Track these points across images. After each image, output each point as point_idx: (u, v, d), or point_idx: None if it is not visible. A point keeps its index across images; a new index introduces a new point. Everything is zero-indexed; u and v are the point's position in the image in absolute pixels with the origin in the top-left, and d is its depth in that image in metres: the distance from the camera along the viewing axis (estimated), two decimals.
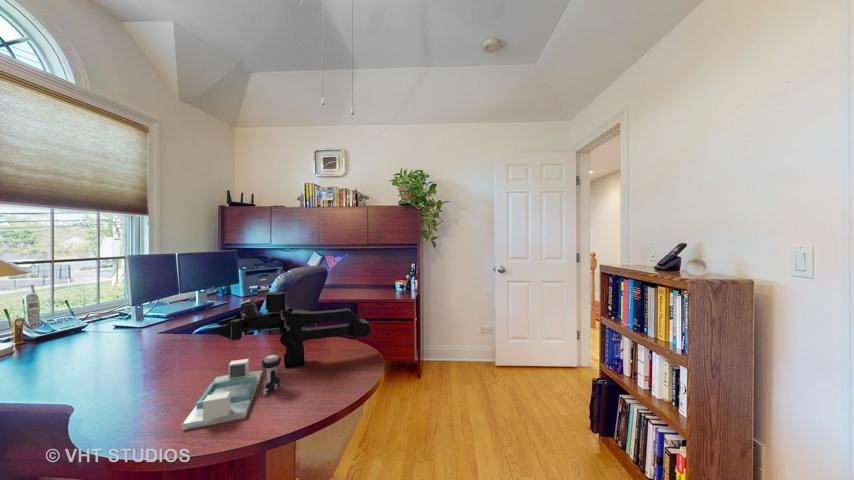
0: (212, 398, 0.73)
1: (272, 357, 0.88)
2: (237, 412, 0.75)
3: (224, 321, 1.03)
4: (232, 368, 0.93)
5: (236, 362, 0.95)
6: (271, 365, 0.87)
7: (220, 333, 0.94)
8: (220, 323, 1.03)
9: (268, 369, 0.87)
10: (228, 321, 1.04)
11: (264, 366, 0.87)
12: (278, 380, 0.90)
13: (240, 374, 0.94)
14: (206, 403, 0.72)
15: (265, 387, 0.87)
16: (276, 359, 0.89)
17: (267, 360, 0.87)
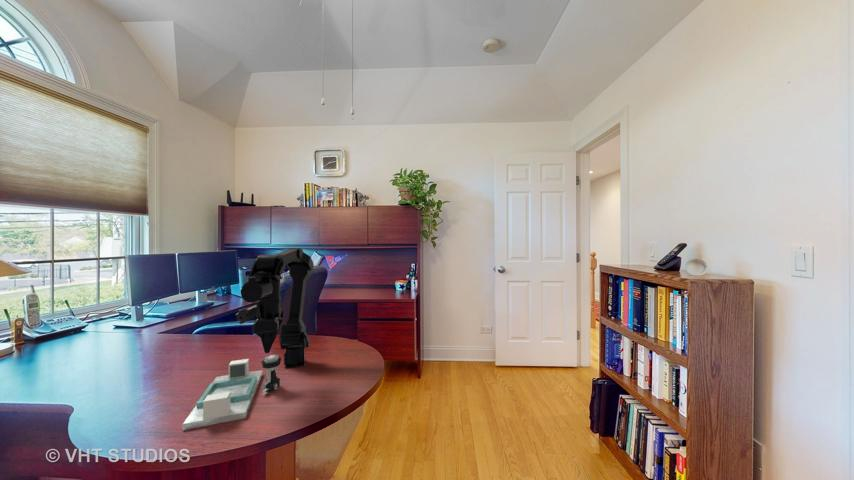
0: (212, 398, 0.73)
1: (272, 357, 0.88)
2: (237, 412, 0.75)
3: None
4: (232, 368, 0.93)
5: (236, 362, 0.95)
6: (271, 365, 0.87)
7: (270, 342, 0.83)
8: None
9: (268, 369, 0.87)
10: None
11: (264, 366, 0.87)
12: (278, 380, 0.90)
13: (240, 374, 0.94)
14: (206, 403, 0.72)
15: (265, 387, 0.87)
16: (276, 359, 0.89)
17: (267, 360, 0.87)
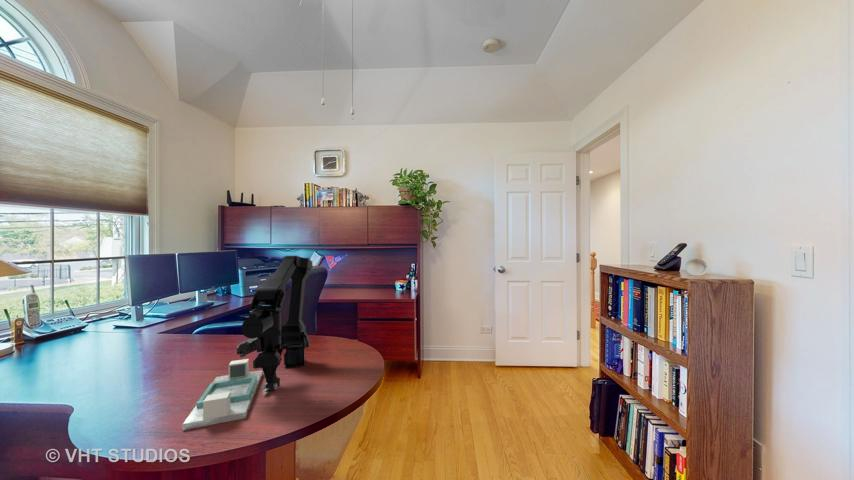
0: (212, 398, 0.73)
1: None
2: (237, 412, 0.75)
3: None
4: (232, 368, 0.93)
5: (236, 362, 0.95)
6: None
7: (272, 372, 0.85)
8: None
9: None
10: None
11: None
12: (278, 380, 0.90)
13: (240, 374, 0.94)
14: (206, 403, 0.72)
15: (265, 387, 0.87)
16: None
17: None
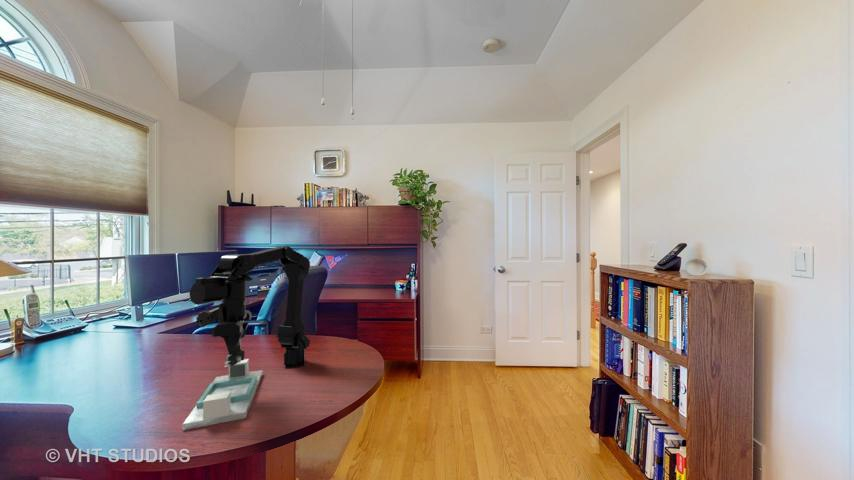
0: (212, 398, 0.73)
1: None
2: (237, 412, 0.75)
3: None
4: (232, 368, 0.93)
5: None
6: None
7: (234, 343, 0.82)
8: None
9: None
10: None
11: None
12: (242, 353, 0.87)
13: (240, 374, 0.94)
14: (206, 403, 0.72)
15: (227, 359, 0.83)
16: None
17: None
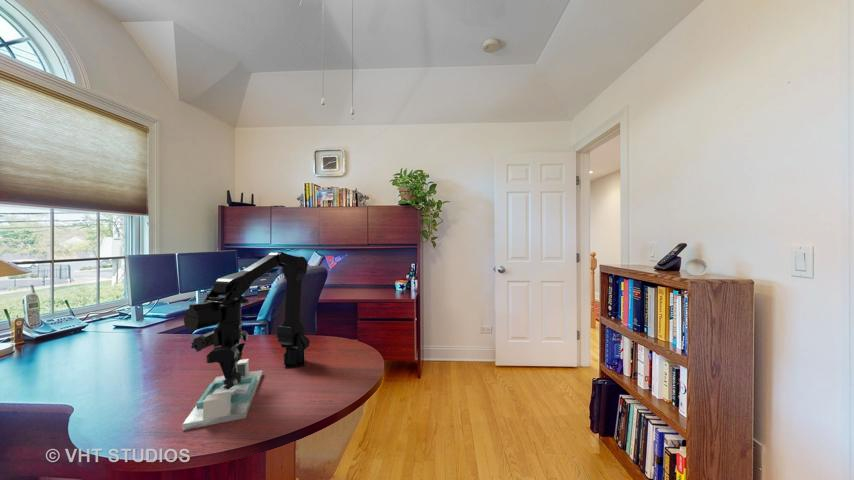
0: (212, 398, 0.73)
1: None
2: (237, 412, 0.75)
3: None
4: None
5: None
6: None
7: (230, 367, 0.82)
8: None
9: None
10: None
11: None
12: (239, 375, 0.86)
13: None
14: (206, 403, 0.72)
15: (223, 383, 0.83)
16: None
17: None
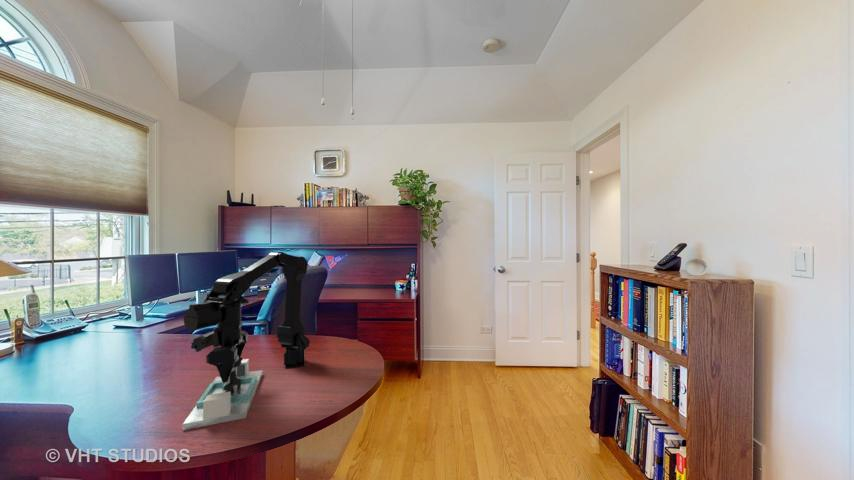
0: (212, 398, 0.73)
1: None
2: (237, 412, 0.75)
3: None
4: None
5: None
6: None
7: (227, 371, 0.79)
8: None
9: None
10: None
11: None
12: (239, 381, 0.87)
13: (240, 374, 0.94)
14: (206, 403, 0.72)
15: (223, 388, 0.83)
16: (236, 359, 0.85)
17: None
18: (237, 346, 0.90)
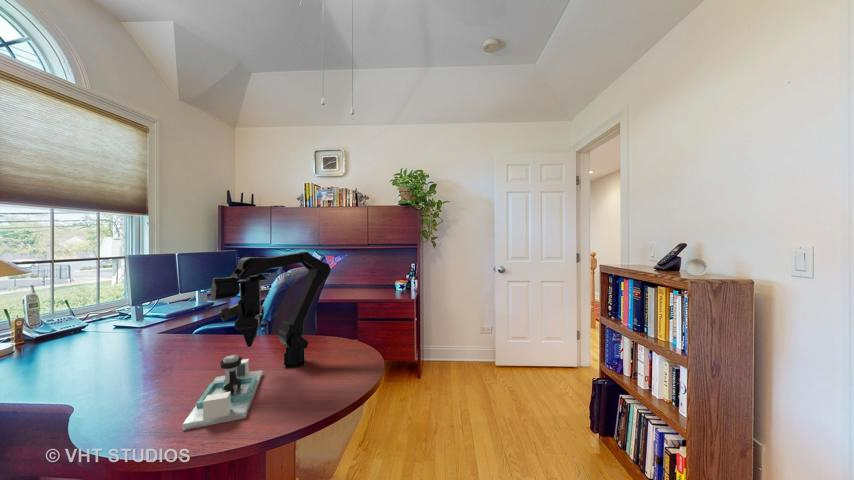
0: (212, 398, 0.73)
1: (231, 357, 0.85)
2: (237, 412, 0.75)
3: None
4: None
5: None
6: (230, 366, 0.83)
7: (252, 336, 0.92)
8: None
9: (227, 370, 0.83)
10: None
11: (222, 367, 0.83)
12: (239, 381, 0.87)
13: (240, 374, 0.94)
14: (206, 403, 0.72)
15: (223, 389, 0.83)
16: (236, 359, 0.85)
17: (226, 360, 0.83)
18: None
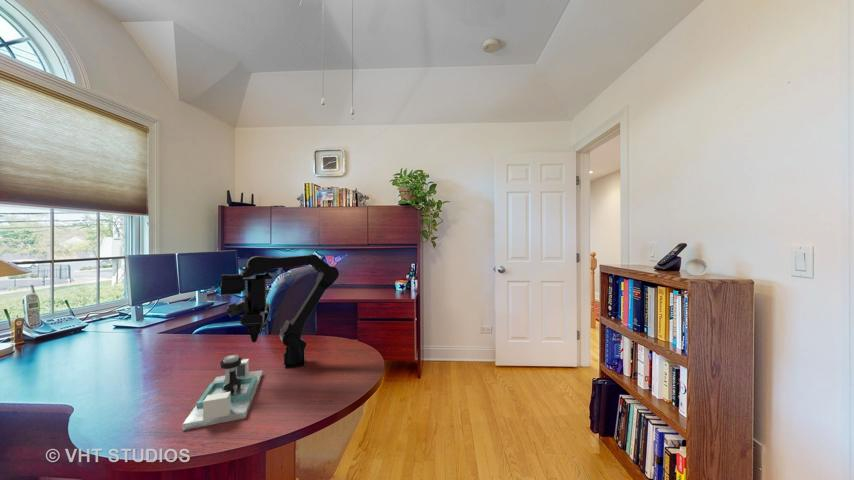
0: (212, 398, 0.73)
1: (231, 357, 0.85)
2: (237, 412, 0.75)
3: None
4: None
5: None
6: (230, 366, 0.83)
7: (256, 332, 0.96)
8: (259, 331, 1.05)
9: (227, 370, 0.83)
10: None
11: (222, 367, 0.83)
12: (239, 381, 0.87)
13: (240, 374, 0.94)
14: (206, 403, 0.72)
15: (223, 389, 0.83)
16: (236, 359, 0.85)
17: (226, 360, 0.83)
18: None
